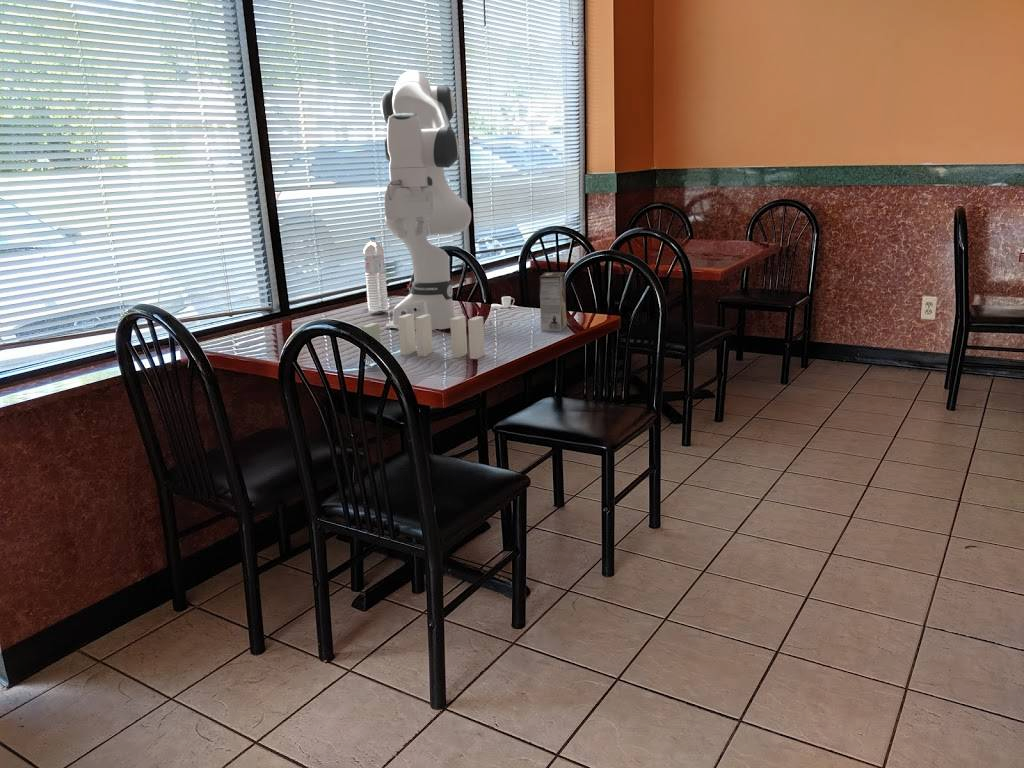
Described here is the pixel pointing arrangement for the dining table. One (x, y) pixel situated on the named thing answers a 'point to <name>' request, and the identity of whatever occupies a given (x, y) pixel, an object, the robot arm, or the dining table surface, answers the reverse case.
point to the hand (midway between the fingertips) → (411, 236)
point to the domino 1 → (372, 333)
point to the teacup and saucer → (504, 303)
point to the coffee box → (553, 301)
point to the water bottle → (375, 276)
